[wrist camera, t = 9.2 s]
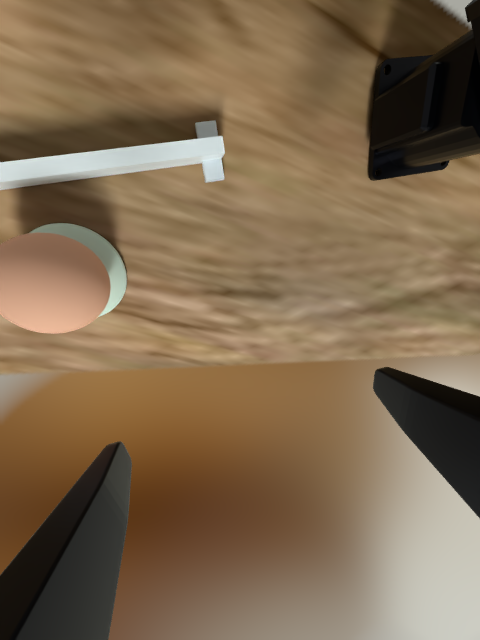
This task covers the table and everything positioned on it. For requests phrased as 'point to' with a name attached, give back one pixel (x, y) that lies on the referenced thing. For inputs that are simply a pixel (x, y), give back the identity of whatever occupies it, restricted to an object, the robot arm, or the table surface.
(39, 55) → the table surface
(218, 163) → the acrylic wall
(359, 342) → the table surface
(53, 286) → the ball
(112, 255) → the felt coaster
